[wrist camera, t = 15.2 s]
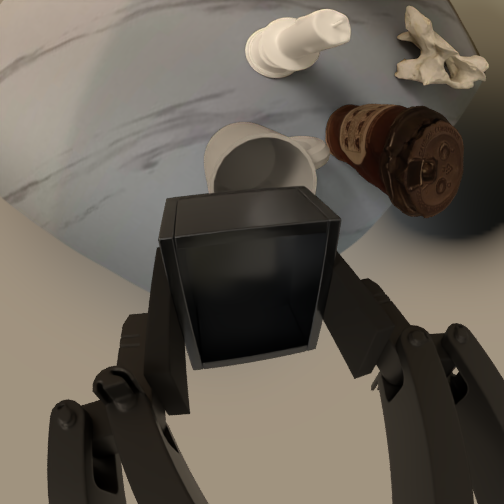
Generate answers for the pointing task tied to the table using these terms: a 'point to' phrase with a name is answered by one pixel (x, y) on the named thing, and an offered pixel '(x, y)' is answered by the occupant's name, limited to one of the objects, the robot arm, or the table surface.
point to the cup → (261, 159)
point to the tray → (248, 272)
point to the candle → (295, 42)
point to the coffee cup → (400, 153)
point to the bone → (436, 57)
